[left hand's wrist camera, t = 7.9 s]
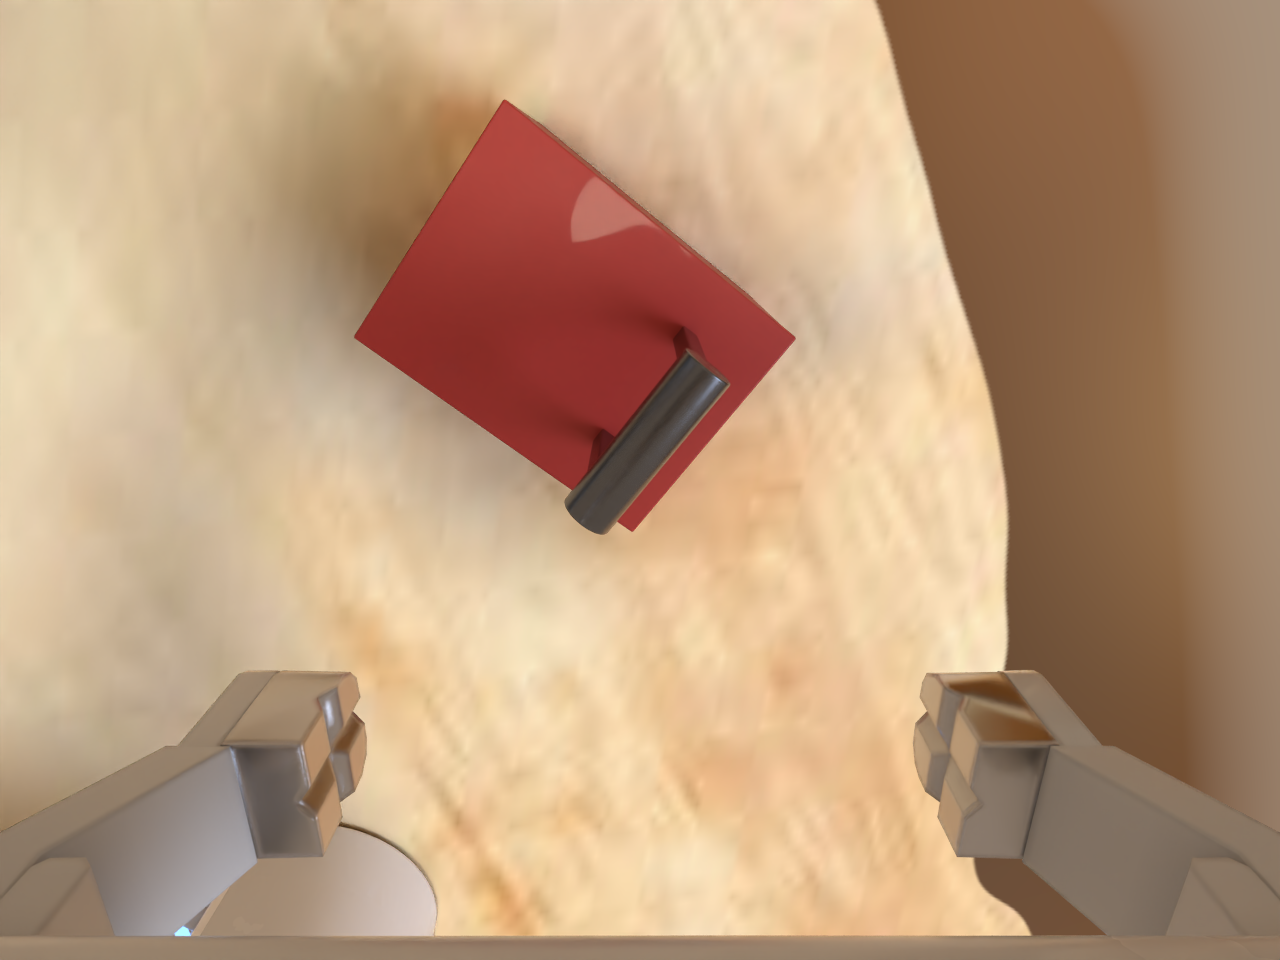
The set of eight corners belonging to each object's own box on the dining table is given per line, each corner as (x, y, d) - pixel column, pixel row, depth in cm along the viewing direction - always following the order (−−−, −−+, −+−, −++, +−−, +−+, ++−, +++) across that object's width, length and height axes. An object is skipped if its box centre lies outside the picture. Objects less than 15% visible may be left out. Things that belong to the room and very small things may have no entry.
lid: (792, 334, 29) (848, 386, 21) (632, 524, 31) (630, 631, 24) (508, 101, 26) (451, 61, 18) (361, 333, 29) (257, 385, 21)
